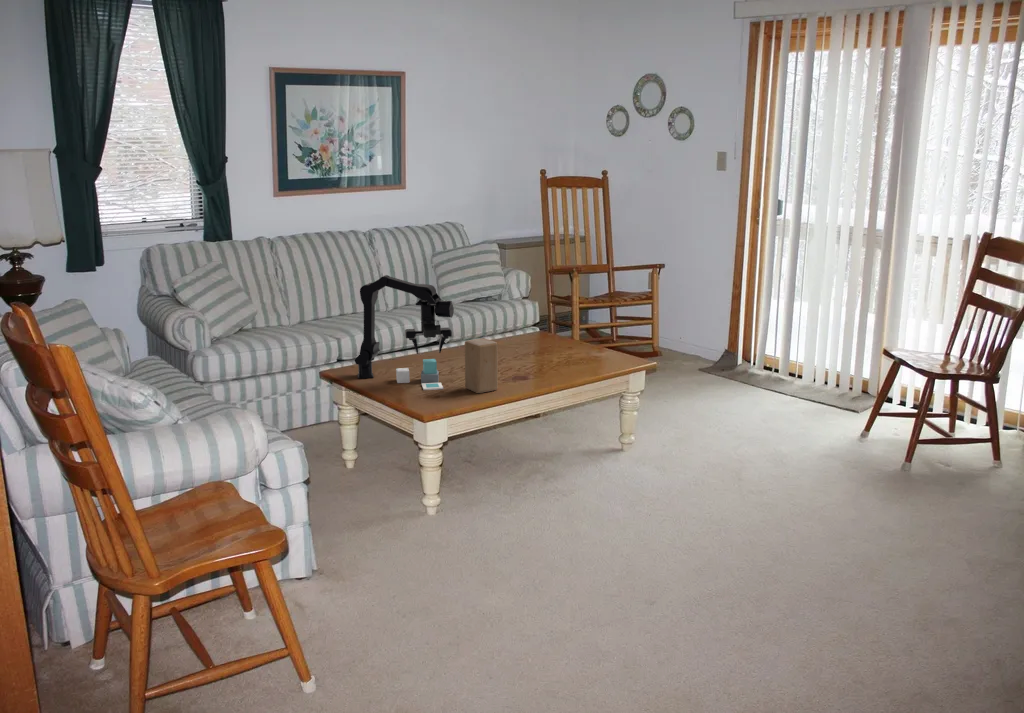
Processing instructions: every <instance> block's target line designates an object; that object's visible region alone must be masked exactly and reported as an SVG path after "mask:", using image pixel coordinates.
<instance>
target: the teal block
mask: <svg viewBox="0 0 1024 713" xmlns="http://www.w3.org/2000/svg"><path fill="white" fill-rule="evenodd" d="M437 366H438V365H437V360H436V358H427V359H424V358H423V359H422V370H423V372H424V374H437V370H438V369H437Z"/></svg>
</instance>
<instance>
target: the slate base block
mask: <svg viewBox="0 0 1024 713" xmlns="http://www.w3.org/2000/svg"><path fill="white" fill-rule="evenodd" d="M420 372H421V373H420V383H421V385H422V383H439V378H440V376H439V370H438V369H437V374H424V372H423V369H422V370H421V371H420Z"/></svg>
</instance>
